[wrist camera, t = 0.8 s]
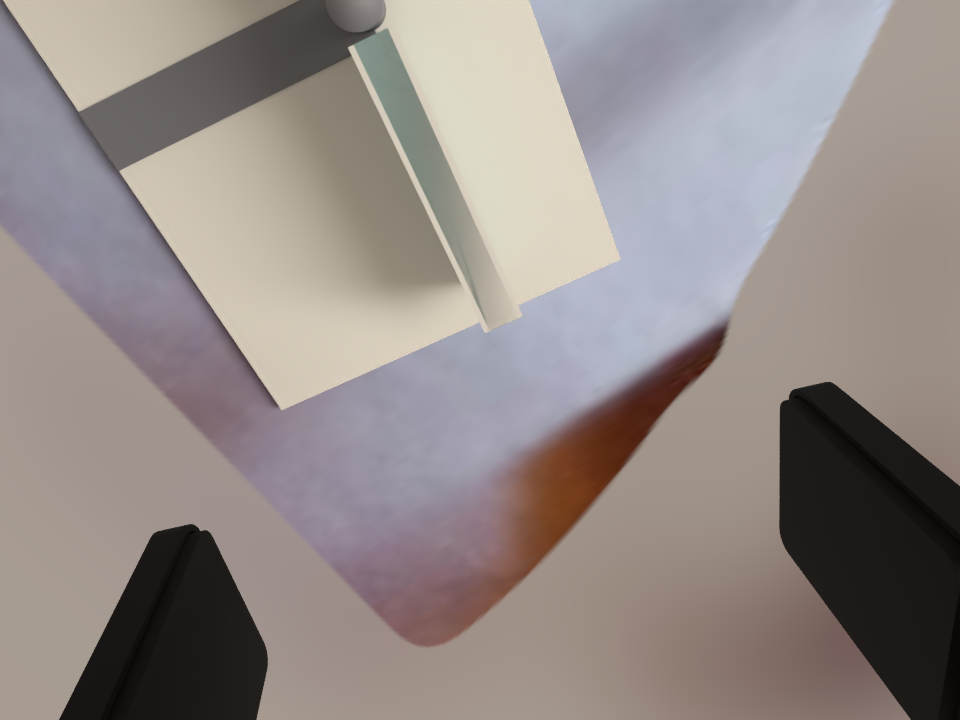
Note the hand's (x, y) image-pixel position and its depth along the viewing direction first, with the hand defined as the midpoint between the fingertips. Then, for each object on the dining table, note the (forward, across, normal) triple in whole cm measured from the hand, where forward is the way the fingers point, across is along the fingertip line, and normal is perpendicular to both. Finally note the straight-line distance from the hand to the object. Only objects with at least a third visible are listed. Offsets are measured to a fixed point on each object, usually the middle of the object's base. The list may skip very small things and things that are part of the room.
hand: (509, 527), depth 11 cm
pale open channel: (+21, 0, -2) cm, 21 cm away
